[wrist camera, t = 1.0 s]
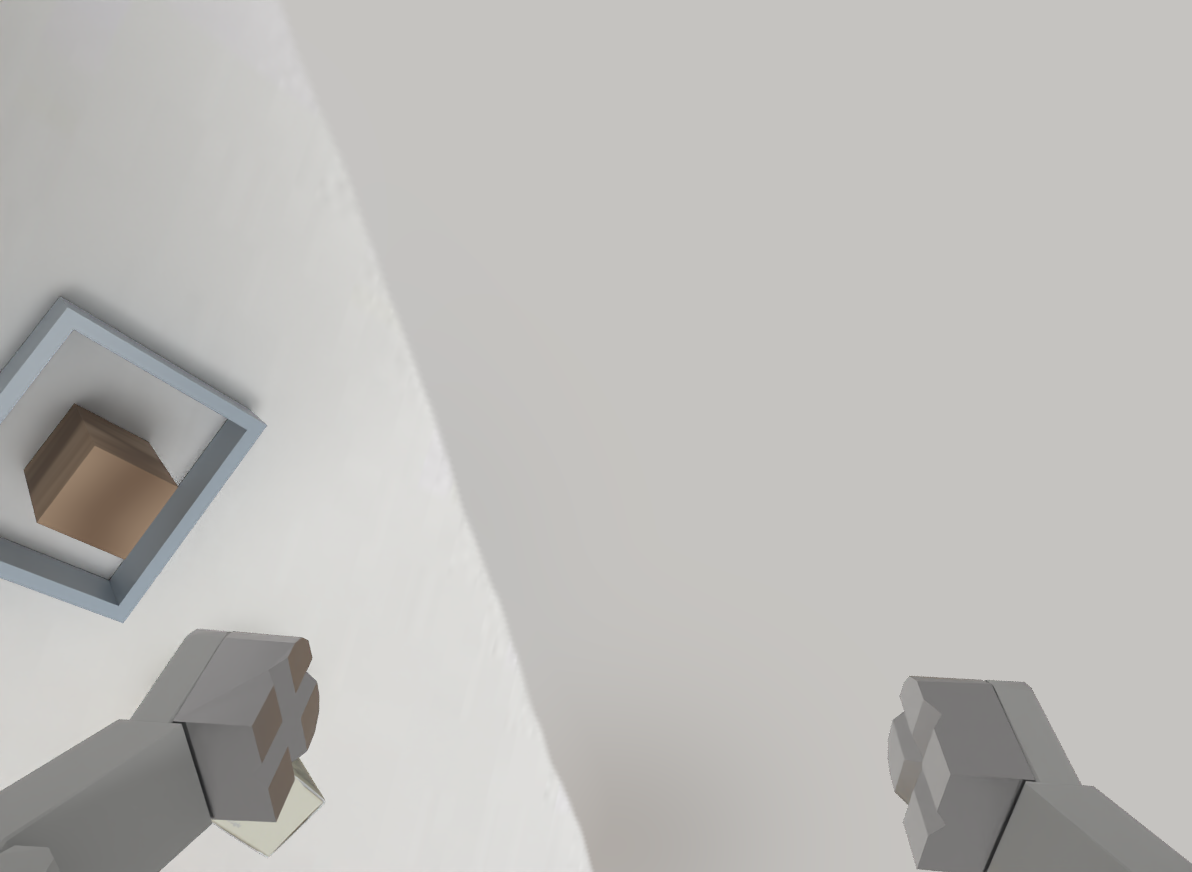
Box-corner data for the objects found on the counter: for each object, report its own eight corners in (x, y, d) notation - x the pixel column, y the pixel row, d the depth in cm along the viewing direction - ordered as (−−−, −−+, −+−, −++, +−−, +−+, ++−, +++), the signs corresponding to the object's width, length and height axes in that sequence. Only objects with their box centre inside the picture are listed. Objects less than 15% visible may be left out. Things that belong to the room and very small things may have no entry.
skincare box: (147, 694, 54) (190, 812, 45) (206, 643, 55) (260, 748, 46) (213, 744, 57) (266, 863, 48) (267, 695, 59) (328, 802, 50)
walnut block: (23, 469, 46) (36, 522, 40) (74, 403, 47) (94, 445, 41) (101, 505, 49) (125, 559, 43) (148, 442, 50) (177, 487, 44)
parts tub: (-108, 511, 43) (-111, 536, 41) (60, 296, 45) (67, 307, 42) (113, 596, 51) (123, 623, 48) (250, 410, 53) (267, 425, 50)
